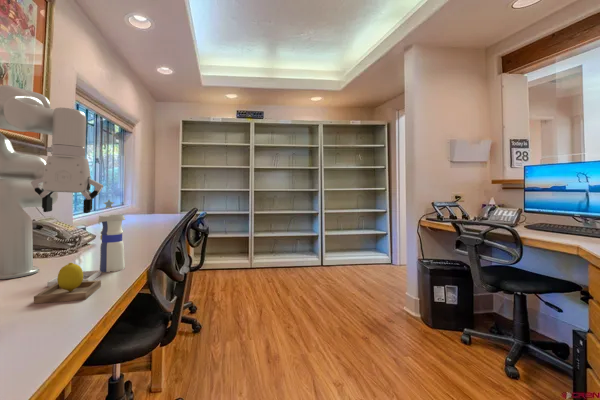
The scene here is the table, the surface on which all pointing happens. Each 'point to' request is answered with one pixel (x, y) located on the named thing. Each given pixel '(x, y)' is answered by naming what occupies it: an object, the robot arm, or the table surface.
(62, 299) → the tray
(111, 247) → the water bottle
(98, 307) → the table surface
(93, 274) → the frame
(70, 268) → the lemon
